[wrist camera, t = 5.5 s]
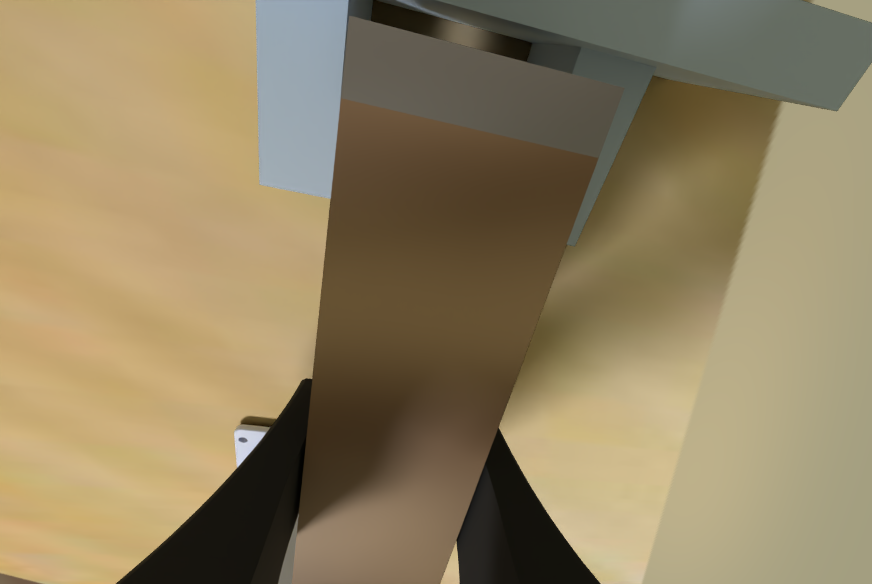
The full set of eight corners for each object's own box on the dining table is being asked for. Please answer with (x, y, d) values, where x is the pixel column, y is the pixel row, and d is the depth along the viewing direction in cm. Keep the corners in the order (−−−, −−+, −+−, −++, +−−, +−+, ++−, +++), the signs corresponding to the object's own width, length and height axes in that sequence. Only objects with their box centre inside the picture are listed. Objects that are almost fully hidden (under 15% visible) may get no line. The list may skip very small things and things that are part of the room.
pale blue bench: (607, 207, 17) (704, 299, 11) (214, 123, 15) (78, 183, 9) (690, 31, 14) (894, 30, 8) (196, -114, 11) (-44, -271, 5)
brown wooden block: (424, 469, 16) (429, 611, 12) (324, 458, 16) (289, 604, 11) (530, 92, 10) (625, 87, 6) (377, 54, 10) (349, 15, 5)
